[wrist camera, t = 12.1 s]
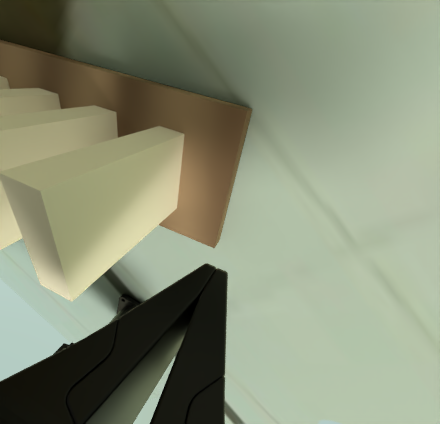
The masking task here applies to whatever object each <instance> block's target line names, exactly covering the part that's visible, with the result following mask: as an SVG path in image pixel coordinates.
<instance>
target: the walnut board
mask: <svg viewBox="0 0 440 424" xmlns="http://www.w3.org/2000/svg"><path fill="white" fill-rule="evenodd" d="M0 76H2V77H5V78H7V80H8V84H9V87H10V89H24V88H40V89H44V90H47V91H50V92H53V93H56V94H58V96H59V102H60V107H61V109H67V108H76V107H85V106H93V105H95V106H98V107H101V108H104V109H108V110H111V111H114V112H116V115H117V132H118V138H119V137H122V136H126V135H129V134H133V133H136V132H140V131H144V130H147V129H151V128H154V127H158V126H161V127H164V128H168V129H171V130H174V131H177V132H180V133H183V134H184V144H183V154H182V163H181V173H180V183H179V193H178V202H177V209H176V210H174V211H173V212H172V213H171V214H170V215H169V216H168V217H167V218H165V219H164V220H163V221H162V222H161V223H160V224H159V225H160V226H163V227H165V228H168V229H170V230H172V231H175V232H177V233H179V234H182V235H184V236H187V237H189V238H191V239H194V240H196V241H198V242H201V243H203V244H206V245H208V246H210V247H213V248H215V246H216V245H217V243H218V242H219V240H220V236H221V232H222V228H223V224H224V220H225V216H226V212H227V208H228V204H229V200H230V196H231V192H232V188H233V184H234V180H235V177H236V173H237V169H238V165H239V161H240V157H241V153H242V149H243V145H244V141H245V137H246V133H247V129H248V125H249V121H250V117H251V113H252V109H251V108H247V107H244V106H240V105H236V104H233V103H229V102H225V101H222V100H218V99H214V98H211V97H207V96H204V95H200V94H196V93H193V92H189V91H185V90H182V89H178V88H174V87H171V86H167V85H163V84H160V83H156V82H153V81H149V80H145V79H142V78H138V77H134V76H131V75H127V74H123V73H120V72H116V71H113V70H109V69H105V68H102V67H98V66H94V65H91V64H87V63H83V62H80V61H76V60H72V59H69V58H65V57H62V56H58V55H54V54H51V53H47V52H43V51H40V50H36V49H32V48H29V47H25V46H21V45H18V44H14V43H11V42H7V41H3V40H0Z"/></svg>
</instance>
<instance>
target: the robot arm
mask: <svg viewBox="0 0 440 424" xmlns="http://www.w3.org/2000/svg"><path fill="white" fill-rule="evenodd" d="M227 279H228V274H227V272H226V271H223V270H221V269H219V268H218V269H216V267H214V266H212V265H210V264H204V265H202V266H201V267H199V268H198V269H196V270H194V271H193V272H191V273H190V274H188V275H186V276H185V277H183V278H182V279H180V280H178V281H177V282H175V283H174V284H172V285H170V286H169V287H167V288H166V289H164V290H162V291H161V292H159V293H158V294H156V295H154V296H153V297H151V298H150V299H148V300H146V301H145V302H143V303H142V304H140V303H138V302H136V301H135V300H133V299H132V298H130V297H129V296H127V295H125V294H122V295H121V296H120V298H119V304H118V310H117V315H116V316H115V317H114V318H113V319H112V321H111V322H110V323H109V324H108V325H106V326H105V327H103V328H101V329H99V330H98V331H96V332H94V333H93V334H91V335H89V336H88V337H86V338H84V339H82V340H80V341H79V342H77V343H75V344H74V343H71V344H70V345H67V344H63V345H62V346H61V347H60V348H59V349H58V350H57V351H56V352H55V353H54V354H53V355H52V356H50V357H48V358H46V359H44V360H42V361H40V362H38V363H36V364H34V365H32V366H30V367H28V368H26V369H24V370H22V371H20V372H18V373H16V374H14V375H12V376H10V377H9V378H7V379H4V380H2V381H0V424H133V422H134V421H135V419H136V417H137V416H138V414H139V413H140V411H141V409H142V408H143V406H144V405H145V403H146V401H147V400H148V398H149V396H150V395H151V393H152V392H153V390H154V388H155V387H156V385H157V384H158V382H159V380H160V379H161V377H162V375H163V374H164V372H165V371H166V369H167V367H168V366H169V364H170V363H171V361H172V359H173V358H174V356H175V354H176V353H177V351H178V350H179V351H178V353H177V356H176V358H175V361H174V363H173V366H172V369H171V371H170V374H169V376H168V379H167V381H166V384H165V386H164V389H163V391H162V394H161V397H160V399H159V402H158V404H157V407H156V409H155V412H154V414H153V417H152V419H151V422H150V424H225V377H224V376H225V354H226V316H227Z"/></svg>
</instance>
